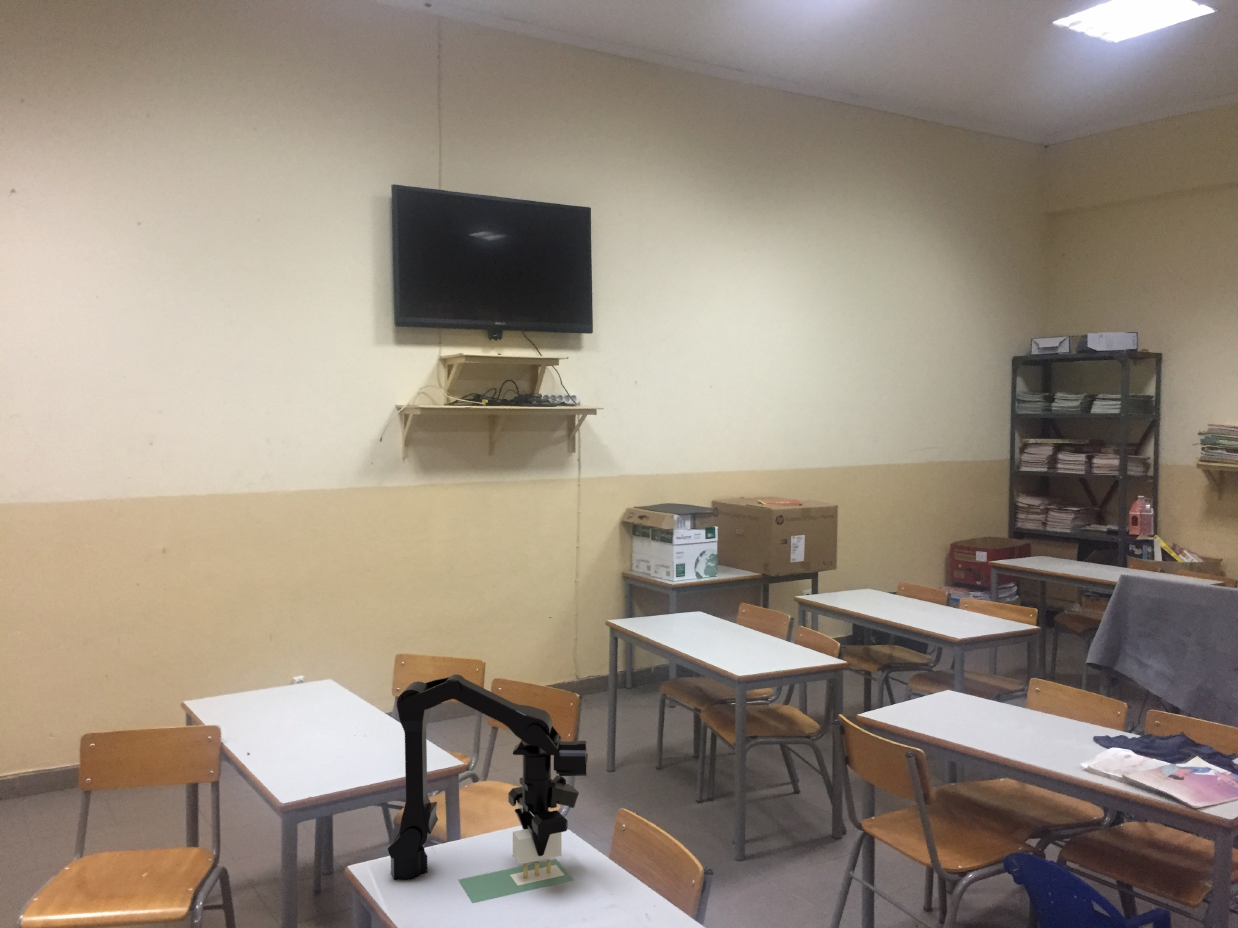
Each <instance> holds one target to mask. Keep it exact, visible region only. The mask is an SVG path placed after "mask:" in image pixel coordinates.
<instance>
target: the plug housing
mask: <svg viewBox="0 0 1238 928" xmlns="http://www.w3.org/2000/svg"><path fill="white" fill-rule="evenodd" d="M561 856H562V832H560V833H555V834H550V836H549V839H548V842H547V846H546V849H545V852H544V855H542V856H538V854H537V851H536V849H535V846H534V843H533V840H532V837H531V834H530V831H529V829H524V830H523V829H520V830H515V831H512V857H513V858H514V860H515V861H516V862H517V864H518V865H525V864H529V863H533V862H534V863H535V862H539V861H541V860H543V861H544V860H549V859H551V858H557V857H561Z"/></svg>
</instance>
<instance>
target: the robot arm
mask: <svg viewBox="0 0 1238 928" xmlns="http://www.w3.org/2000/svg"><path fill="white" fill-rule="evenodd" d="M451 700H454V701H457V702H458V703H461V704H463V705H464V706H467V707H469V708H471V709H472V710H475V711H476V712H479V713H480V714H483V715H485V716H487V717H489V718H491V719H493V720H495V721H497V722H498V723H501V724H502V725H504V726H505V727H507V728H508V729H509V730H510V731H511V733H512V734H513V735H514V736H515V737H517V738H518V739H520V741H519V743H518V744H517V745H515V746H514V749H513V751H512V755H513V756H522V777H519V784H520V785H521V786H519V787H513V788H512V787H511V789H510V791H508V793H507V794H508V800H507V801H508V803H509V804H510V805H511V807H516V805H517V806H518V808H515V809H514V813H515V814H516V817H517V819H518V821H519V824H520V826H521V828H522V830H524V829H529V831H530V834H531V837H532V840H533V843H534V846H535V849H536V851H537V854H538V856H542V855H544V852H545V849H546V846H547V842H548V839H549V836H550V834H555V833H560V832H561V833H564V832H567V831H568V830H569V829H568V825H569V824H568V819H567V818H566V817H565V816H564V815H563V814H562V813H561V812H560V811H558V809H557V810H551V811H550V810H549V808H550V809H554V808H557V807H558V805H561V806H565V807H568V808H571V809H574V808H575V807H576V804H577V800H578V796H579V794H580V791H578V790H577V789H576V788H575V787H574V786H572V785H570V784H569V783H567V780H566V778H565V777H588V772H589V771H588V770H589V769H588V768H589V753H588V747H587V741H586V740H577V741H563V740H562V736H561V735H560V733H559V732H558V730H557V729H556V728H555V727H554V725H553V720H552V717H551V715H550V713H549V712H547V711H546V710H545V709H544V710H543V709H541V708H539V707H538V708H537V707H534V706H532V705H524V704H518V703H515V702H512V701H510V700H508V699H506V698H504V697H502V696H500V695H498V694H496V693H494V692H492V691H490V690H488V689H486V688H484V687H482V686H480V685H479V684H476V683H474V682H472V681H470V680H468V679H466V678H465V677H464V676H463V675H462V674H461V675H460V674H457V673H455V674H452V675H450V676H447V677H443V678H442V677H441V678H437V679H433V680H430V681H426V682H423V681H413V682H412V683H409V685H408V686H407V687H406V688H405V689H404V690H403V692H401V693H400V695H399V696H398V698H397V700H396V708H397V712H398V713H397V714H398V719H399V722H400V724H401V727H402V729H403V733H404V749H405V750H404V759H405V760H404V764H405V767H404V768H405V771H404V772H405V802H404V808H403V811H402V815H401V819H400V824H399V825H400V827H399V829H398V831H397V833H396V835H395V836H394V838H393V840H392V841H391V842H390V844H389V846H388V847H387V851H388V854H389V857H390V875H391V877H392V878H393V880H394V881H398V880H399V881H411V880H412V881H413V880H415V879H417V878H419V877H421V876H423V875H425V874H427V873H428V854H427V852H426V851H425V847H424V844H426V843H427V842H428V841H427V840H428V839H429V837H430V835H431V834H432V832H433V831H434V828H435V826H436V825H437V822H438V821H439V818H438V816H437V808H438V802H437V801H433V802H431V800H430V798H429V795H428V764H427V763H428V761H427V760H428V759H427V755H428V753H427V751H428V749H427V748H428V747H427V746H428V745H427V744H428V743H427V728H428V727H427V726H428V722H429V718H430V714H431V710H432V708H434V707H437V706H439V705H441V704H443V703H445V702H447V701H451ZM552 756H553V771H554V772H556V775H555V777H554V778H553V779H552Z"/></svg>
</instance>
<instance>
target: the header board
mask: <svg viewBox="0 0 1238 928" xmlns="http://www.w3.org/2000/svg"><path fill="white" fill-rule="evenodd" d="M457 880H458V882H459V884H460V885H461V887H462V888H463V891H464V892H465V893H466V896H467V897H468V898H469V900H470V902H471V904H475V903H480V902H484V901H490V900H492V899H497V898H502V897H506V896H507V897H508V896H511V895H515V894H520V893H524V892H527V891H532V890H536V889H541V888H545V887H550V886H551V887H552V886H554V885H559V884H563V883H568V882H572V881H574V880H575V879H574V878H573V877H572V876H571V874H570V873H569V872H568V871H567V870H566V869H565V868H564V867H563V865H562V864H561V863H560V862H559V860H558V859H557V858H554V859H546V860H543V861H540V862H539V861H534V863H530V864H529V863H528V864H522V866H516V867H512V868H511V867H510V868H507V869H502V870H497V871H493V872H489V873H488V872H487V873H484V874H480V875H475V876H470V877H465V878H461V879H457Z"/></svg>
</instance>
